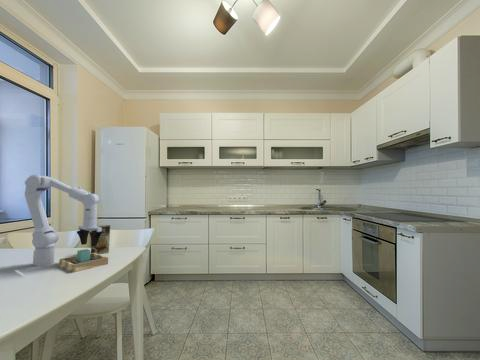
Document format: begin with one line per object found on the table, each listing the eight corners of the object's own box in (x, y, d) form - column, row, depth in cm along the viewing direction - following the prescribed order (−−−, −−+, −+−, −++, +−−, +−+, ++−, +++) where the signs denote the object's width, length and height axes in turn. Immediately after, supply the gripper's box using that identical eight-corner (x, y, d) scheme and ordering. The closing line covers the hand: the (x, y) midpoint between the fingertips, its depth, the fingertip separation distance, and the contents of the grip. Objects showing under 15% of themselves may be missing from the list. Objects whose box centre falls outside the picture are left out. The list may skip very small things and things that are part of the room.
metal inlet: (70, 265, 112) (70, 260, 112) (89, 261, 119) (89, 256, 119) (78, 269, 108) (78, 263, 108) (97, 264, 115) (97, 259, 115)
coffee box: (90, 256, 131) (91, 227, 132) (91, 253, 137) (92, 225, 138) (109, 254, 136) (110, 226, 136) (109, 251, 141) (110, 224, 142)
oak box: (59, 267, 111) (59, 259, 111) (92, 260, 124) (93, 252, 124) (73, 274, 103) (73, 265, 103) (107, 265, 116) (108, 257, 116)
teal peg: (76, 265, 113) (77, 250, 113) (85, 263, 116) (86, 249, 116) (80, 267, 110) (81, 252, 111) (89, 264, 114) (90, 250, 114)
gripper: (72, 217, 117) (71, 245, 117) (92, 219, 112) (91, 248, 111) (86, 216, 124) (85, 242, 123) (105, 218, 118) (104, 245, 118)
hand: (89, 245), depth 118 cm, fingers open, 7 cm apart
